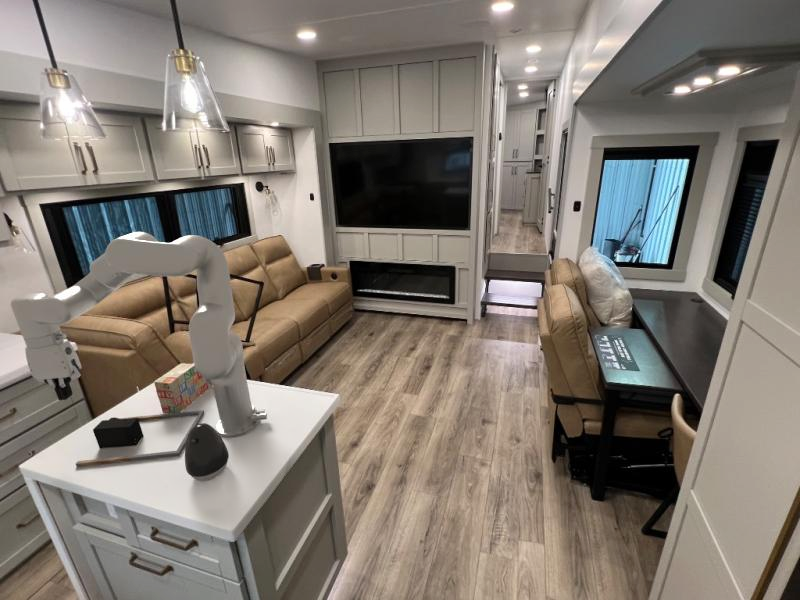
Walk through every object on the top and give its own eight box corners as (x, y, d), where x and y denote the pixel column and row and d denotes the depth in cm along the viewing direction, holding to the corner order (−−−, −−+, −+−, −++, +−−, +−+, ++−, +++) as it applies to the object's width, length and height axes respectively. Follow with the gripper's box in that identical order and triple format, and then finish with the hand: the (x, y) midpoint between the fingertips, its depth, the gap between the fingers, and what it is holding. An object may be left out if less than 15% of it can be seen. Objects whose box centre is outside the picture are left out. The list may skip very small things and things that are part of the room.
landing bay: (204, 413, 127) (204, 410, 126) (179, 456, 108) (178, 452, 107) (163, 417, 125) (162, 414, 125) (130, 461, 106) (129, 457, 106)
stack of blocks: (205, 379, 147) (198, 350, 143) (219, 380, 146) (213, 352, 142) (162, 412, 128) (153, 381, 124) (178, 414, 126) (169, 382, 122)
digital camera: (146, 433, 118) (140, 414, 115) (136, 445, 113) (130, 426, 110) (111, 436, 117) (104, 417, 115) (99, 448, 112) (92, 429, 110)
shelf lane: (163, 417, 125) (162, 414, 125) (130, 461, 106) (129, 457, 106) (117, 421, 124) (116, 418, 123) (76, 467, 105) (75, 463, 105)
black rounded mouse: (181, 490, 96) (167, 441, 91) (198, 460, 106) (187, 414, 101) (223, 486, 97) (211, 438, 92) (236, 457, 107) (226, 411, 102)
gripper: (83, 331, 107) (102, 388, 113) (25, 335, 105) (47, 392, 111) (65, 343, 100) (85, 402, 106) (1, 347, 98) (26, 407, 104)
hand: (66, 397), depth 108 cm, fingers closed
